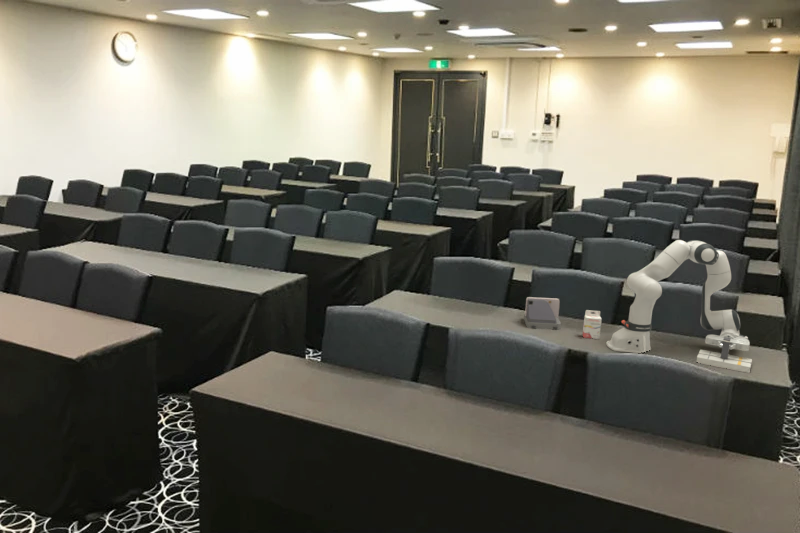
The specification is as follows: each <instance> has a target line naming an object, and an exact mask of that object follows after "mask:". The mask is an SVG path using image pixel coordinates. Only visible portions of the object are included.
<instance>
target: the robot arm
mask: <svg viewBox="0 0 800 533" xmlns="http://www.w3.org/2000/svg"><path fill="white" fill-rule="evenodd" d="M687 260H690V261H691V262H693V263H696V264H699V265H705V268H706V274H707V278H706V280H705V282H703V283H702V288H701V314H700V326H701V327H702V328H703V329H704V330H706V331H708V332H709V331H715V330H721V332H720V334H719V335H717V334H710V333H709V334H707V335H706V336H705V341H704V344H706V345H710V346H716V347H719V348H721V349H722V346H723V339H724V337H728V338H731V341H730V346H729V350H737V351H743V352H749V350H750V343H751V342H750V340H749V337H748V336H747V335H743V334H741V333H740V329H741V324H742V323H741V317H740V315H739V313H738V312H737V311H736V310H734V309H722V310H711V296H712V295H713V294H714V293H717V292H718V291H721V290H722V289H724V288H726V287H727V286H728V285H729V284H730V283H731V282H732V281H731V280H732V271H731V266H730V262H729V258H728V257H727V254H726V253H725V252H724V251H722V250H718V249H716V248H715V247H714V246H713V245H711V244H709V243H707V242H705V241H701V240H696V239H692V240H688V241H684V240H682V239H676V240H675V241H673V242H672V243H670V244H669V245H668V246H666V248H665V249H663V250H662V251H661V252H660V253H659V254H658V256H656V257H655V258H654V259H653V260H652V261H651V262H650V263H649V264H647V265H646V266H645V267H643V268H641V269H640V270H638V271H634V272H632V273H630V274H629V275H628V277H627V278H626V279H627V280H626V285H627V287H628V288H629V290H630V291H631V292H632V293H634V294H635V298H634V300H633V302H632V304H630V307H629V313H628V319H627V321H626V320H625V319H622V320H621V323H622V324H623V327H622V328H620V329H618V330H616V331H615V332H613V333H612V336H611V339H610V340H607V341H606V343H605V345H606V346H607V347H608V349H610V350H612V351H614V352H622V353H634V354H642V353H641V352H645V353H647V352H646V351H648V352H650V351H651V350H652V347H651V340H650V339H651V338H650V337H651V331H652V317H653V316H652V315H653V310H654V307H655V304H656V302H657V300H658V299H659V298H660V297H661V296H662V294H663V288H662V285H661V284H660V283H659V282H660V281H662V280H664V279H667V278H669V277H670V276H672V274H673V273H675V271H677V269H678V268H679V267H681V265H682V264H683V263H684V262H685V261H687ZM649 350H650V351H649Z"/></svg>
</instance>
